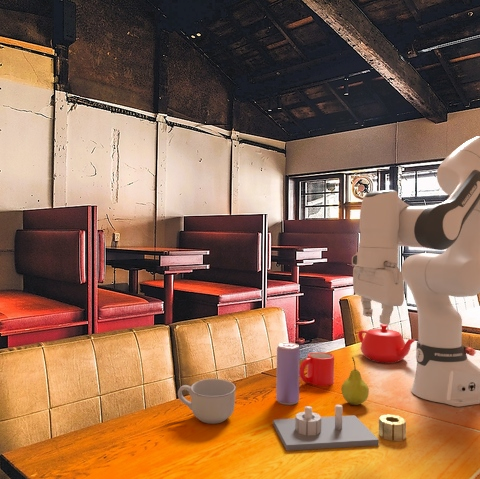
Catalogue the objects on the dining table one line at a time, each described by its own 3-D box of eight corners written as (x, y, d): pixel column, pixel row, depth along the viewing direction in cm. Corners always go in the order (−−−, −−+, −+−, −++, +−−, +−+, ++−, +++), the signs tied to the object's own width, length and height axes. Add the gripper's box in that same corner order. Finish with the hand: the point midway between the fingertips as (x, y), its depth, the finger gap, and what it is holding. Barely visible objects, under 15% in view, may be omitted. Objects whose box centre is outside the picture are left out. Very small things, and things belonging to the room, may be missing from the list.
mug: (291, 382, 140) (291, 356, 140) (320, 375, 147) (320, 350, 147) (309, 390, 134) (310, 362, 134) (339, 382, 141) (339, 356, 141)
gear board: (354, 420, 113) (355, 394, 113) (378, 445, 100) (379, 416, 100) (273, 424, 110) (273, 398, 110) (286, 450, 97) (287, 421, 97)
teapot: (343, 354, 173) (344, 321, 172) (373, 348, 181) (373, 317, 181) (399, 372, 151) (400, 334, 151) (430, 365, 160) (431, 329, 159)
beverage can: (298, 406, 122) (298, 348, 121) (274, 404, 123) (275, 347, 122) (299, 398, 127) (300, 343, 127) (277, 396, 129) (278, 341, 128)
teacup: (241, 413, 117) (241, 381, 117) (225, 431, 107) (226, 396, 106) (190, 406, 121) (190, 375, 121) (170, 422, 111) (170, 388, 111)
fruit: (372, 409, 120) (373, 362, 120) (345, 409, 120) (346, 362, 120) (363, 399, 127) (363, 354, 127) (338, 399, 127) (338, 355, 127)
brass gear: (397, 429, 108) (398, 414, 108) (409, 440, 103) (409, 424, 103) (375, 431, 107) (375, 415, 107) (386, 441, 102) (386, 425, 102)
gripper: (412, 263, 99) (410, 329, 100) (373, 257, 120) (371, 312, 120) (384, 262, 98) (381, 328, 99) (349, 257, 119) (347, 312, 119)
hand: (375, 319), depth 109 cm, fingers open, 8 cm apart
